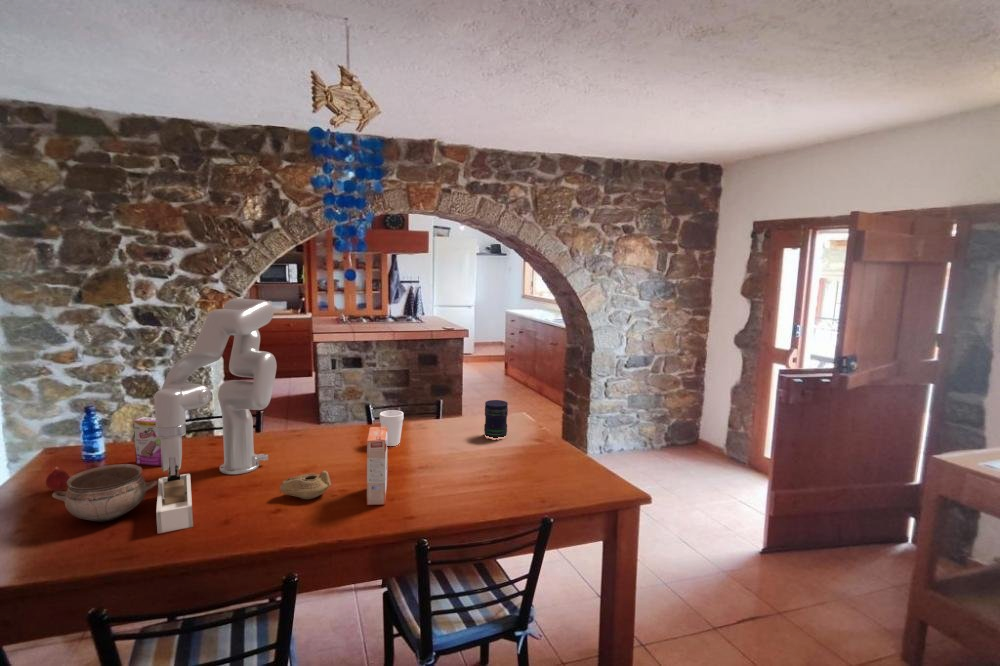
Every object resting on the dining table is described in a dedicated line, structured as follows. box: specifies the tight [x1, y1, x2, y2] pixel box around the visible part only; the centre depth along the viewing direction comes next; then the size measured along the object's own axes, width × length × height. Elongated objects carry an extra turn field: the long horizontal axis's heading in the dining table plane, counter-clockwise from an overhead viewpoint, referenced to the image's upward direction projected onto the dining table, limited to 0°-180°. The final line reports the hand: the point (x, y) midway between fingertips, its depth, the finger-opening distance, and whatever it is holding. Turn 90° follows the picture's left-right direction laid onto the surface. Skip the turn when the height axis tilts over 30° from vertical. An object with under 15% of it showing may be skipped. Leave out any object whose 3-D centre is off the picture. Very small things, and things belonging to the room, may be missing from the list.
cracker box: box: [366, 426, 388, 506], centre depth 173 cm, size 14×6×21 cm, turn 9°
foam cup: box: [379, 409, 404, 447], centre depth 221 cm, size 10×9×13 cm
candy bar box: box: [132, 416, 162, 467], centre depth 195 cm, size 11×5×16 cm, turn 84°
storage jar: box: [484, 399, 509, 438], centre depth 234 cm, size 10×10×15 cm
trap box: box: [155, 473, 194, 534], centre depth 160 cm, size 8×26×6 cm, turn 30°
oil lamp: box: [279, 470, 332, 500], centre depth 172 cm, size 11×15×8 cm
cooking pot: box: [51, 463, 159, 523], centre depth 155 cm, size 25×19×12 cm
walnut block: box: [164, 479, 185, 505], centre depth 161 cm, size 5×5×5 cm
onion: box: [45, 466, 71, 492], centre depth 171 cm, size 6×6×8 cm
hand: (174, 488), depth 165 cm, fingers closed
